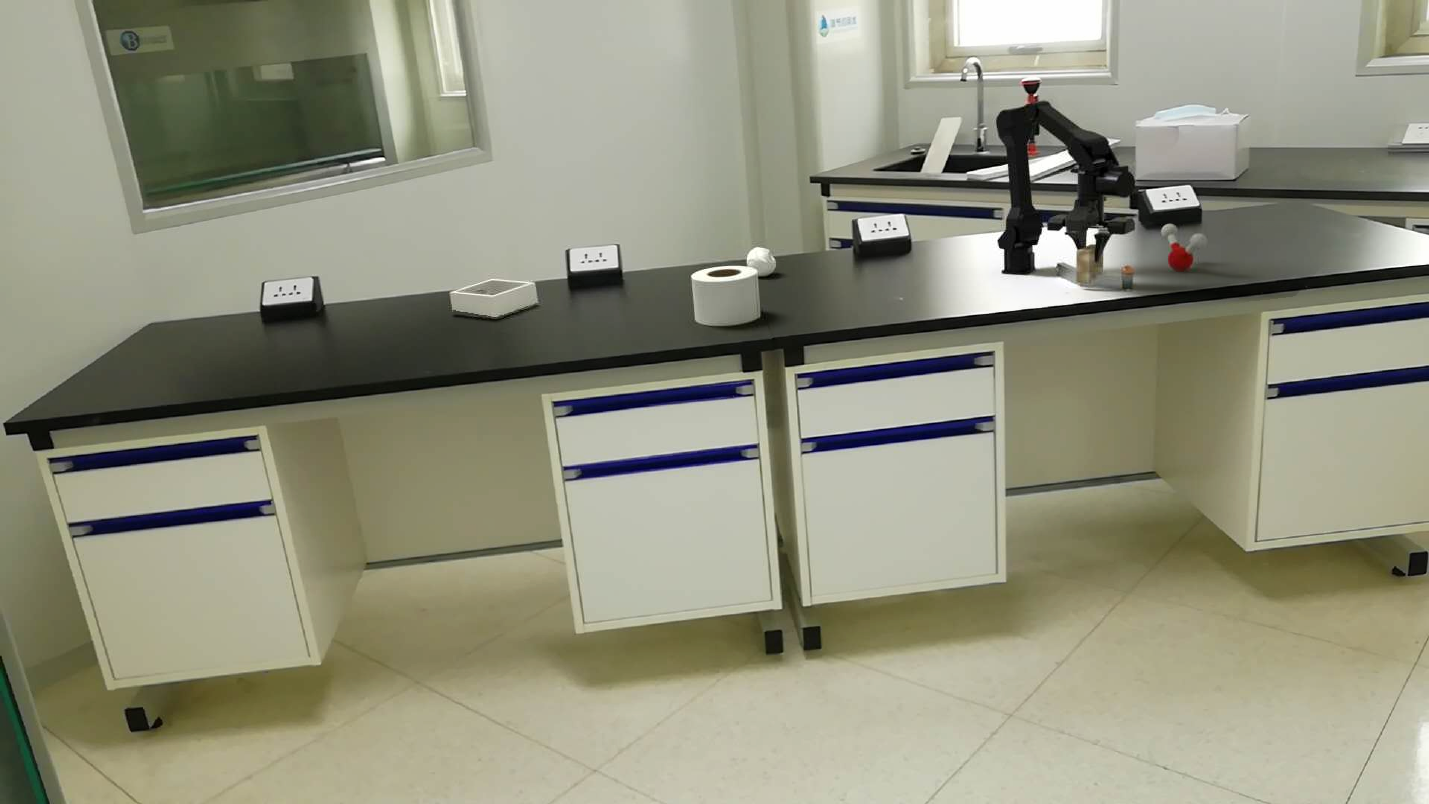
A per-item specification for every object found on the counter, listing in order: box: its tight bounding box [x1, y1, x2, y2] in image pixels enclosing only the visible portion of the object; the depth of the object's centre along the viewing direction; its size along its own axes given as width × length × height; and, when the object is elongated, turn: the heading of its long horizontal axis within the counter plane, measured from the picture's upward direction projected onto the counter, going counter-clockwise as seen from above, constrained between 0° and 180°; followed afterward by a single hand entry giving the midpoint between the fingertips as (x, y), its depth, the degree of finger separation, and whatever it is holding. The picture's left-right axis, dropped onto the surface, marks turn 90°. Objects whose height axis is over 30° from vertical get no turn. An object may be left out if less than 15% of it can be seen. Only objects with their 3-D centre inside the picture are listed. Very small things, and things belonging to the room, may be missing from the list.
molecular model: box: [1160, 223, 1208, 272], centre depth 274 cm, size 18×6×10 cm, turn 6°
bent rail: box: [1055, 262, 1135, 290], centre depth 271 cm, size 23×6×5 cm, turn 29°
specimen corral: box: [449, 278, 539, 317], centre depth 300 cm, size 16×15×6 cm
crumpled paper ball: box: [746, 246, 777, 277], centre depth 309 cm, size 8×8×8 cm
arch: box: [1075, 243, 1104, 284], centre depth 267 cm, size 3×7×8 cm, turn 138°
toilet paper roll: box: [690, 265, 761, 327], centre depth 271 cm, size 16×15×11 cm
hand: (1089, 261), depth 267 cm, fingers closed on arch, 3 cm apart
